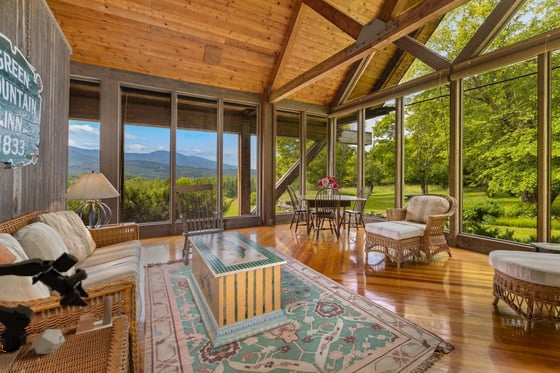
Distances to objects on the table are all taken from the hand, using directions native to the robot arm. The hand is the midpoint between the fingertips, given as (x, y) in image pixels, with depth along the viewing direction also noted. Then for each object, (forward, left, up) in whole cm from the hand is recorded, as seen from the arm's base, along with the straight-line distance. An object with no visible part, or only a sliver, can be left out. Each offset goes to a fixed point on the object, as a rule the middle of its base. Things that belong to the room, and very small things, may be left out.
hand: (87, 301), depth 109 cm
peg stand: (+3, +2, -13) cm, 13 cm away
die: (-3, -14, -13) cm, 20 cm away
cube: (0, 0, -12) cm, 12 cm away
